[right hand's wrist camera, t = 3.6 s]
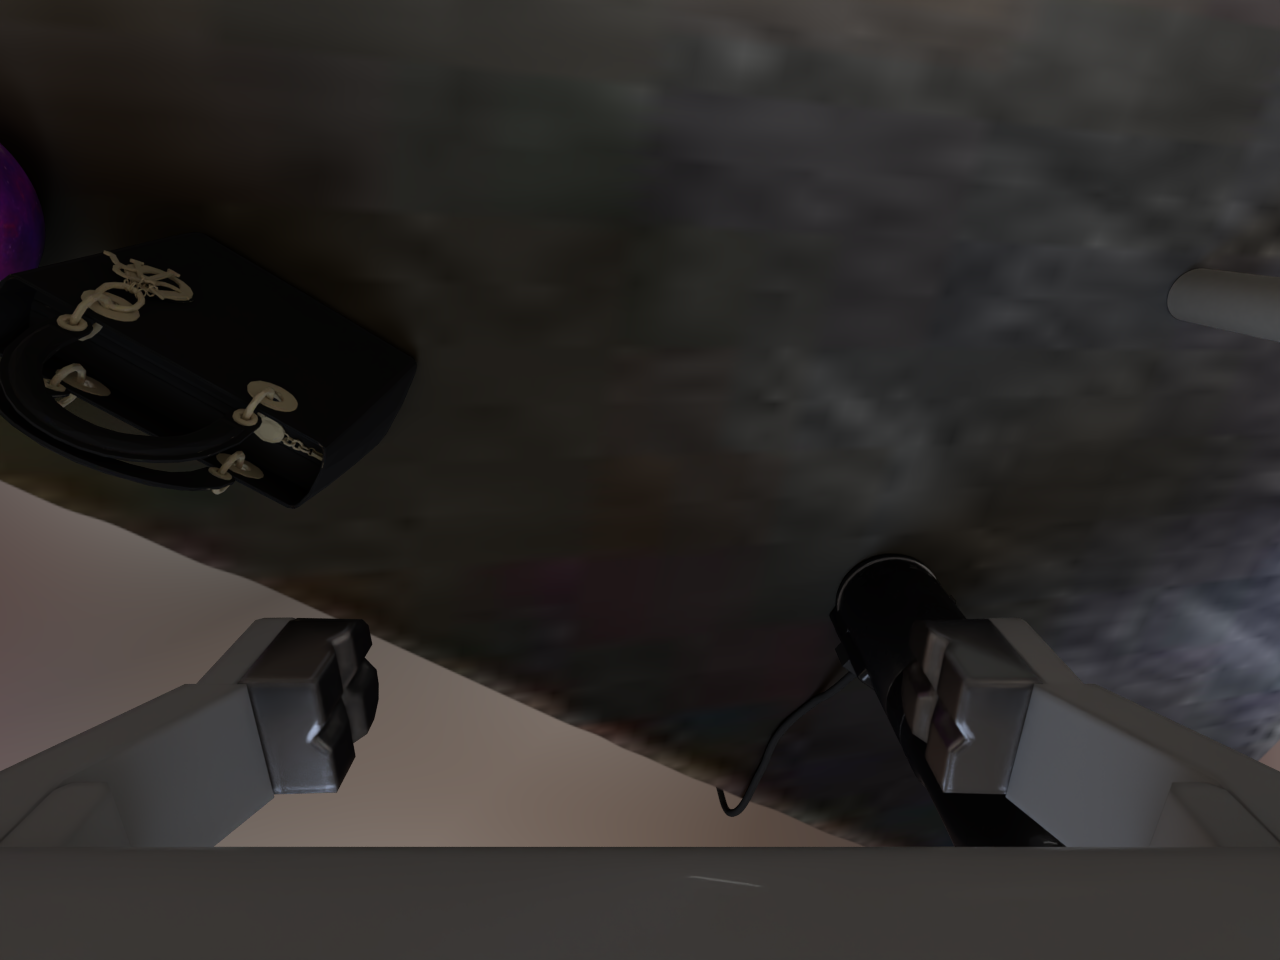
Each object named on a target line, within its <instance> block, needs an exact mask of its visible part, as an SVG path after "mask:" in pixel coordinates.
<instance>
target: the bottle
mask: <svg viewBox="0 0 1280 960" xmlns="http://www.w3.org/2000/svg"><path fill="white" fill-rule="evenodd" d="M1167 306H1168V310H1169V312H1170V313H1171V315H1172V316H1173V317H1175V318H1176V319H1178V320H1181V321H1185V322H1190V323H1194V324H1199V325H1203V326H1208V327H1212V328H1217V329H1221V330H1226V331H1230V332H1235V333H1239V334H1244V335H1248V336H1253V337H1257V338H1262V339H1267V340H1271V341H1276V342H1280V277H1271V276H1263V275H1255V274H1246V273H1238V272H1230V271H1221V270H1213V269H1204V268H1199V269H1194V270H1191V271H1188V272H1187V273H1185V274H1183V275H1182V276H1181V277H1179V278H1178V279H1177V280H1176V281H1175V283H1174V284H1173V286H1172V287H1171V289H1170V291H1169V294H1168V298H1167Z"/></svg>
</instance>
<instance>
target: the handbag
mask: <svg viewBox="0 0 1280 960" xmlns="http://www.w3.org/2000/svg"><path fill="white" fill-rule="evenodd" d="M0 357H2V359H1V362H0V415H1V416H2V417H3V418H4V419H6V420H7V421H8V422H9V423H10V424H11V425H12V426H14V427H15V428H17V429H18V430H19V431H21V432H22V433H24V434H25V435H27V436H28V437H30V438H31V439H33V440H34V441H36V442H37V443H38V444H40V445H41V446H43V447H45V448H47V449H49V450H52V451H54V452H56V453H58V454H60V455H62V456H64V457H66V458H68V459H70V460H72V461H74V462H76V463H79V464H81V465H84V466H87V467H90V468H92V469H95V470H98V471H100V472H103V473H106V474H109V475H113V476H117V477H120V478H124V479H127V480H131V481H134V482H138V483H141V484H145V485H149V486H155V487H162V488H169V489H176V490H190V491H198V490H212V492H214V493H215V494H220V493H222V492H224V491H225V490H226V489H227V488H228V487H229V486H230V485H232V484H233V483H234V481H235V480H236V481H238V482H240V483H241V484H243V485H245V486H247V487H249V488H251V489H253V490H255V491H257V492H259V493H260V494H262V495H264V496H266V497H268V498H270V499H272V500H274V501H276V502H277V503H279V504H281V505H283V506H285V507H287V508H292V509H295V508H297V507H299V506H301V505H302V504H303V503H305V502H306V501H307V500H309V499H310V498H312V497H313V496H314V495H316V494H317V493H319V492H320V491H321V490H323V489H324V488H326V487H327V486H328V485H330V484H331V483H332V482H333V481H335V480H336V479H337V478H338V477H340V476H341V475H342V474H343V473H345V472H346V471H347V470H348V469H350V468H351V467H352V466H353V465H355V464H356V463H357V462H358V461H359V460H360V459H362V458H363V457H364V456H365V455H366V454H367V453H368V452H370V451H371V450H372V449H373V448H374V447H375V446H376V445H378V444H379V442H380V441H381V440H382V439H383V437H384V436H385V435H386V433H387V432H388V430H389V428H390V426H391V424H392V422H393V420H394V419H395V417H396V415H397V413H398V411H399V409H400V407H401V406H402V404H403V402H404V399H405V397H406V395H407V392H408V390H409V387H410V385H411V382H412V380H413V377H414V375H415V372H416V367H417V363H416V362H415V360H414V359H413V358H412V357H410V356H408V355H407V354H405V353H403V352H402V351H400V350H398V349H397V348H395V347H393V346H392V345H390V344H388V343H387V342H385V341H383V340H382V339H380V338H378V337H377V336H375V335H373V334H372V333H370V332H368V331H367V330H365V329H363V328H362V327H360V326H358V325H357V324H355V323H353V322H352V321H350V320H348V319H347V318H345V317H343V316H342V315H340V314H338V313H337V312H335V311H333V310H332V309H330V308H328V307H327V306H325V305H323V304H322V303H320V302H318V301H317V300H315V299H313V298H312V297H310V296H308V295H307V294H305V293H303V292H302V291H300V290H298V289H296V288H295V287H293V286H291V285H290V284H288V283H286V282H285V281H283V280H281V279H279V278H278V277H276V276H274V275H273V274H271V273H269V272H268V271H266V270H264V269H262V268H261V267H259V266H257V265H256V264H254V263H252V262H251V261H249V260H247V259H245V258H244V257H242V256H240V255H239V254H237V253H235V252H234V251H232V250H230V249H228V248H227V247H225V246H223V245H222V244H220V243H218V242H217V241H215V240H213V239H211V238H210V237H208V236H206V235H205V234H203V233H187V234H182V235H176V236H171V237H167V238H162V239H158V240H154V241H150V242H146V243H141V244H137V245H133V246H129V247H125V248H120V249H116V250H112V251H105V250H104V252H103V253H99V254H95V255H91V256H86V257H82V258H78V259H73V260H69V261H65V262H60V263H56V264H52V265H48V266H43V267H39V268H35V269H30V270H26V271H22V272H17V273H13V274H9V275H8V276H6V277H5V278H4V279H2V280H1V281H0ZM56 397H64V398H63V399H61V400H60V401H57V402H56V401H55V399H54V398H56ZM76 397H78V398H80V399H82V400H84V401H86V402H88V403H90V404H91V405H93V406H95V407H97V408H99V409H101V410H103V411H105V412H107V413H109V414H110V415H112V416H114V417H116V418H118V419H120V420H122V421H124V422H126V423H127V424H129V425H131V426H133V427H135V428H137V429H139V430H141V431H143V432H145V433H146V434H148V435H150V436H143V435H133V434H125V433H120V432H116V431H112V430H109V429H105V428H102V427H99V426H96V425H94V424H92V423H90V422H88V421H86V420H83V419H81V418H79V417H77V416H76V415H74V414H72V413H71V412H69V411H67V410H66V409H65V408H64V407H65V406H66V405H68V404H69V403H70V402H72V401H73V400H74V399H75V398H76ZM113 458H114V459H113ZM116 459H120V460H126V461H135V462H149V463H174V462H184V461H191V460H198V461H200V462H202V463H203V464H205V465H207V466H209V467H206V468H202V469H198V470H195V471H191V472H165V471H159V470H153V469H149V468H145V467H141V466H136V465H132V464H129V463H126V462H122V461H119V460H116Z"/></svg>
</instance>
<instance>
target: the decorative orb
mask: <svg viewBox="0 0 1280 960" xmlns="http://www.w3.org/2000/svg"><path fill="white" fill-rule="evenodd" d="M44 245H45V222H44V216H43V211H42V207H41V204H40V201H39V199H38V196H37V194H36V191H35V189H34V187H33V185H32V183H31V181H30V180H29V178H28V176H27V175H26V173H25V172H24V170H23V169H22V167H21V166H20V165H19V163H18V162H17V161H16V160H15V158H14V157H13V156H12V155H11V154H10V152H9V151H8V150H7V149H6V148H5V147H4V146H3V145H2V144H1V143H0V281H1V280H2V279H4V278H5V277H6V276H8V275H9V274H13V273H17V272H22V271H26V270H30V269H35V268H38V266H39V263H40V261H41V258H42V254H43V250H44Z"/></svg>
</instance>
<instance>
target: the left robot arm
mask: <svg viewBox="0 0 1280 960" xmlns="http://www.w3.org/2000/svg"><path fill="white" fill-rule="evenodd" d="M955 604H956V601H955V600H954V598H953V597H952V596H950V597H949V596H948V594H947V593H946V592H945V591H944V589H943V588H942V586H940V583H939V582H938V581H937V579H936V578H935V576H934V575H933V573H932V572H931V571H930V570H929V569H928V568H927V566H925V565H924V564H923V563H921V562H920V561H918V560H916V559H914V558H912V557H909V556H905V555H897V554H889V555H882V556H877V557H874V558H871V559H869V560H867V561H865V562H863V563H861V564H859V565H858V566H857V567H855V568H854V569H853V570H852V571H851V572H850V573H849V574H848V575H847V576H846V577H845V579H844V580H843V582H842V583H841V585H840V587H839V590H838V592H837V596H836V608H835V609H834V610H833V611H832V612H831V613H830V618H831V621H832V623H833V625H834V627H835V629H836V632H837V634H838V636H839V638H840V640H841V643H840V644H839V645H838V646H837V647H836V648H835V650H836V652H837V655H838V657H839V659H840V661H841V664H842V666H843V667H844V668H846V669H847V670H849V672H848V673H847V674H846V675H845V676H844V677H842V678H841V679H840V680H839V681H838V682H837V683H835V684H834V685H833V686H832V687H830V688H829V689H828V690H826V691H825V692H823V693H821V694H818V695H816V696H815V697H813V698H812V699H811V700H809V701H808V702H807V703H805V704H804V705H803V706H802V707H800V708H799V709H798V710H797V711H795V712H794V713H793V714H792V715H791V716H790V717H789V718H787V719H786V720H785V721H784V722H783V724H782V725H781V726H780V727H779V728H778V729H777V731H776V732H775V733H774V735H773V736H772V738H771V740H770V742H769V744H768V746H767V749H766V751H765V754H764V756H763V759H762V761H761V764H760V766H759V768H758V769H757V771H756V773H755V775H754V777H753V779H752V781H751V783H750V785H749V787H748V789H747V791H746V793H745V795H744V797H743V799H742V800H741V802H740V803H739V805H738V806H737V807H736V808H734V809H730V808H729V807H728V805H727V802H726V798H725V795H724V791H723V790H722V789H719V788H717V787H716V789H717V793H718V797H719V801H720V804H721V807H722V809H723V811H724V813H725V814H726V815H728V816H730V817H734V816H737V815H739V814H740V813H741V812H742V811H743V810H744V809H745V808H746V806H747V805H748V803H749V801H750V799H751V797H752V796H753V793H754V791H755V789H756V787H757V785H758V783H759V781H760V779H761V777H762V775H763V774H764V772H765V770H766V768H767V766H768V763H769V761H770V758H771V756H772V753H773V751H774V748H775V746H776V744H777V743H778V741H779V739H780V738H781V737H782V735H783V734H784V733H785V732H786V731H787V729H788V728H789V727H790V726H791V725H792V724H793V723H795V722H796V721H797V720H798V719H799V718H800V717H801V716H803V715H804V714H805V713H807V712H808V711H809V710H810V709H812V708H813V707H814V706H816V705H817V704H819V703H820V702H822V701H824V700H827V699H829V698H831V697H832V696H833V695H835V694H836V693H837V692H839V691H840V690H841V689H842V688H844V687H845V686H846V685H847V684H848V683H849V682H851V681H852V680H853V679H854V678H855V677H856V676H857V677H858V679H859V680H860V681H861V682H863V683H864V684H866V685H867V686H869V687H870V688H872V689H873V690H874V691H875V692H876V694H877V696H878V698H879V701H880V703H881V705H882V707H883V709H884V711H885V713H886V715H887V717H888V719H889V721H890V723H891V725H892V727H893V730H894V732H895V734H896V736H897V738H898V740H899V742H900V744H901V746H902V748H903V751H904V753H905V755H906V757H907V759H908V761H909V764H910V766H911V768H912V770H913V772H914V774H915V775H916V777H917V778H918V780H919V781H920V782H921V783H922V784H923V785H924V786H925V787H926V788H927V790H928V792H929V794H930V796H931V798H932V800H933V802H934V804H935V806H936V808H937V810H938V812H939V814H940V816H941V819H942V821H943V823H944V825H945V827H946V829H947V831H948V833H949V835H950V837H951V840H952V842H953V844H954V846H955V847H1066V846H1065V845H1064V844H1063V843H1061V842H1060V841H1059V840H1058V839H1057V838H1055V837H1054V836H1053V835H1052V834H1050V833H1049V832H1048V831H1047V830H1045V829H1044V828H1043V827H1042V826H1041V825H1039V824H1038V823H1037V822H1036V821H1034V820H1033V819H1032V818H1031V817H1029V816H1028V815H1027V814H1026V813H1025V812H1023V811H1022V810H1021V809H1020V808H1018V807H1017V806H1016V805H1015V804H1014V803H1012V802H1011V801H1010V800H1009V799H1007V798H1006V794H977V793H943V791H942V789H941V787H940V785H939V783H938V781H937V780H936V778H935V776H934V774H933V772H932V770H931V768H930V766H929V764H928V762H927V760H926V758H925V757H924V756H925V751H926V745H927V743H926V742H924V741H923V740H921V739H920V738H918V737H917V736H915V735H914V734H913V733H912V731H911V729H910V727H909V725H908V723H907V721H906V717H905V714H904V710H903V706H902V694H901V685H902V677H903V670H904V669H905V668H906V667H907V666H908V665H909V664H910V662H911V661H912V660H913V659H914V658H915V656H914V654H913V652H912V651H911V649H910V647H909V646H908V640H909V634H910V629H911V627H912V625H913V623H914V621H915V620H955V619H966V618H965V616H964V615H963V614H962V612H961V611H960V610H959V609H958V607H957V606H956V605H955Z"/></svg>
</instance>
